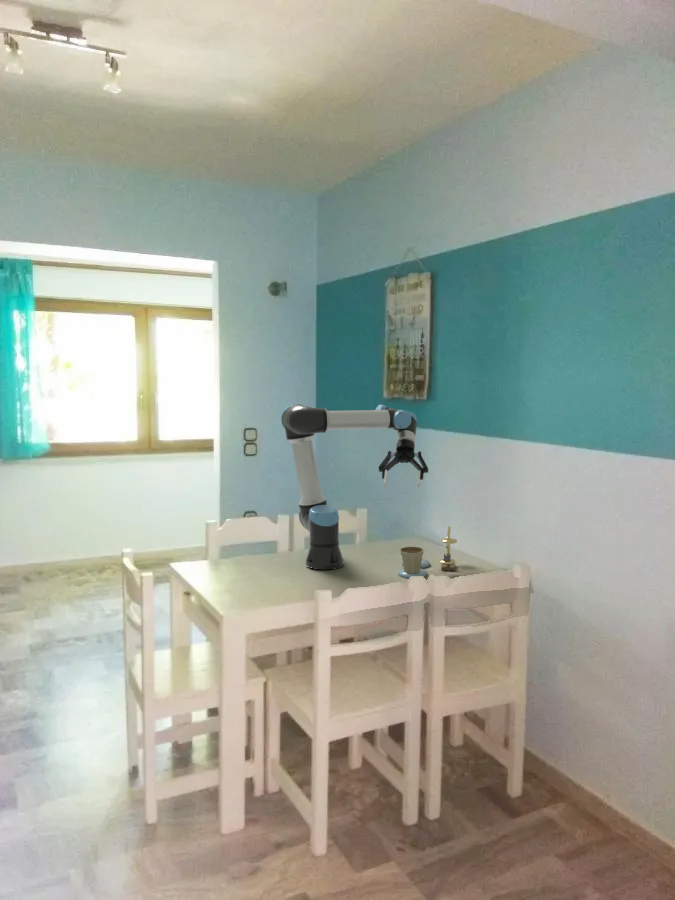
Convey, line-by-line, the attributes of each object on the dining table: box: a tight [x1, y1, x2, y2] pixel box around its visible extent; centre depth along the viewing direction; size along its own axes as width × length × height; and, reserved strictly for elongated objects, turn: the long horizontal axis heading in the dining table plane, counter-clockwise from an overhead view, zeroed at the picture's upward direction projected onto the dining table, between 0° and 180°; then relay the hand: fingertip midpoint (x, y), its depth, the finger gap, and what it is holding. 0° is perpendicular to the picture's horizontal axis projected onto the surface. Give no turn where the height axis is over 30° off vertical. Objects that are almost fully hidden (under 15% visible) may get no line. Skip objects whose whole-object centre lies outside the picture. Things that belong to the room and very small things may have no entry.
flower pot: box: [399, 546, 425, 574], centre depth 265 cm, size 9×9×9 cm
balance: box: [439, 525, 458, 572], centre depth 272 cm, size 6×21×15 cm, turn 168°
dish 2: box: [401, 558, 431, 569], centre depth 278 cm, size 11×11×1 cm
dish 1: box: [397, 568, 428, 579], centre depth 266 cm, size 11×11×1 cm
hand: (401, 485), depth 279 cm, fingers open, 13 cm apart
